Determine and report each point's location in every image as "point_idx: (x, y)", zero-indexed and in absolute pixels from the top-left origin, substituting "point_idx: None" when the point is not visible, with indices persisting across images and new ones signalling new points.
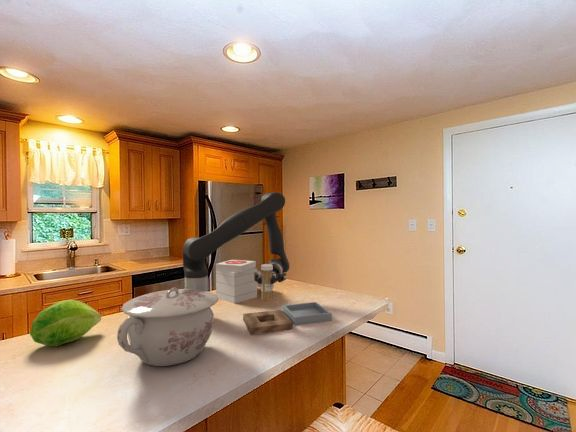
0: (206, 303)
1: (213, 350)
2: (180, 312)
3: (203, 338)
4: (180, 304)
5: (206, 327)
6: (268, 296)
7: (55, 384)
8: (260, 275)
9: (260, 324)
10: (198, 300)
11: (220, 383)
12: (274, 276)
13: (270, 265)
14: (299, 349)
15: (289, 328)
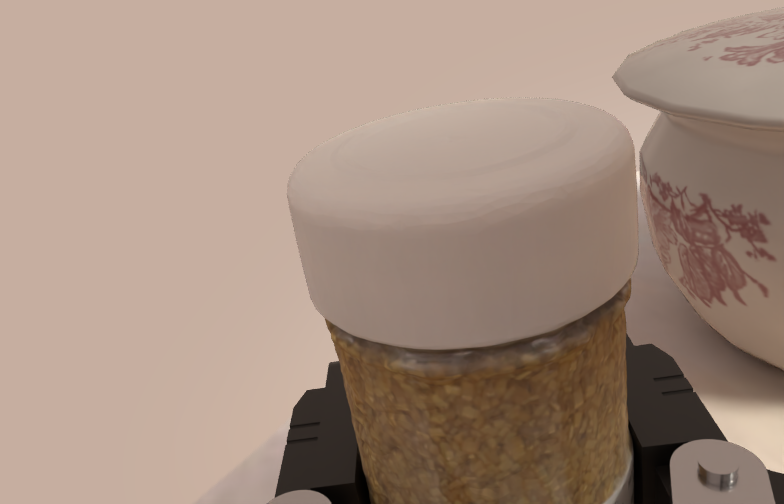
0: (643, 66)
1: (692, 386)
2: (666, 38)
3: (647, 221)
4: (718, 24)
5: (643, 184)
6: None
7: None
8: (706, 452)
9: None
10: (691, 46)
11: None
12: (307, 492)
13: (338, 137)
14: (217, 492)
15: None
